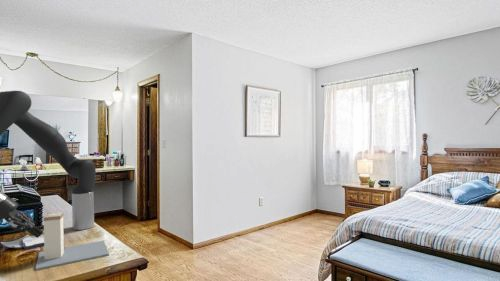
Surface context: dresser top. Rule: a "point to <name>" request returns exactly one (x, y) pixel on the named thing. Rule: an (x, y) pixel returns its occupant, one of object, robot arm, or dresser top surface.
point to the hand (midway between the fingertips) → (40, 235)
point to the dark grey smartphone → (35, 242)
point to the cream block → (53, 236)
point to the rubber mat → (74, 255)
